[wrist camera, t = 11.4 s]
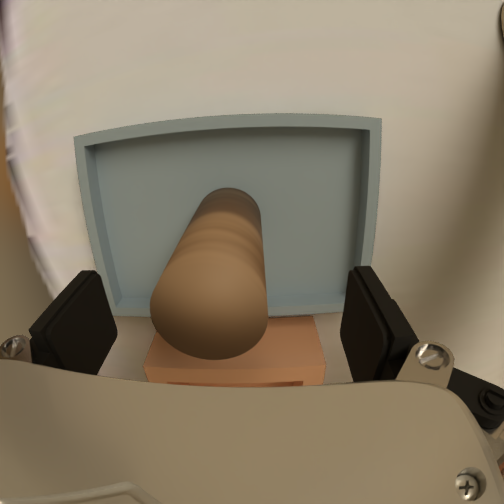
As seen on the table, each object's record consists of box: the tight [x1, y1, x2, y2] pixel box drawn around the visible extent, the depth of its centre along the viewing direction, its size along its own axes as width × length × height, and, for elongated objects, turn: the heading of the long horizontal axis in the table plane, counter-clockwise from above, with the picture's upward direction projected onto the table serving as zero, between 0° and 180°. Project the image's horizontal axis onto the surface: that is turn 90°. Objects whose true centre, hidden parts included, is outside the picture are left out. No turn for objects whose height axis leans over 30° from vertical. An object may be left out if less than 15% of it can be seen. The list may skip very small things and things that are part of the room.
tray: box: [74, 113, 382, 317], centre depth 21 cm, size 14×20×2 cm
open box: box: [143, 316, 326, 387], centre depth 26 cm, size 13×13×6 cm
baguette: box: [150, 188, 268, 360], centre depth 16 cm, size 4×4×11 cm
